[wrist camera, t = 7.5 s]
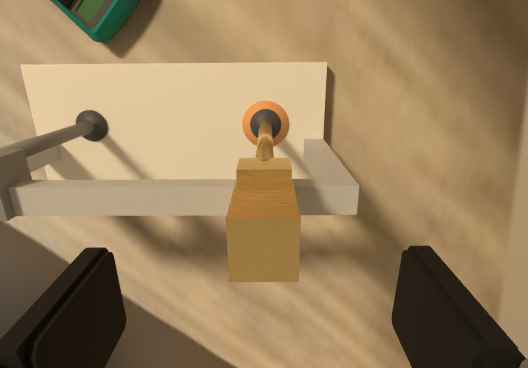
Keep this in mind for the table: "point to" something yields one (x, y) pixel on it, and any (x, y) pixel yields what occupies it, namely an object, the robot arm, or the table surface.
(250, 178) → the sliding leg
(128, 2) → the digital multimeter
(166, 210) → the white rack frame
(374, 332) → the table surface
